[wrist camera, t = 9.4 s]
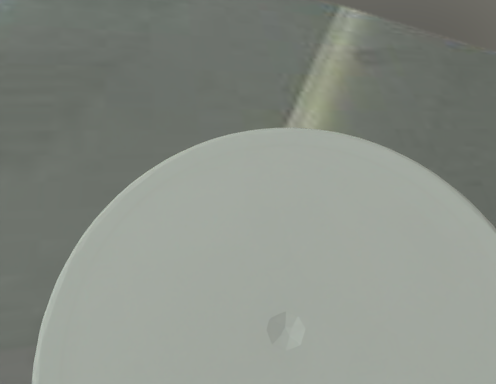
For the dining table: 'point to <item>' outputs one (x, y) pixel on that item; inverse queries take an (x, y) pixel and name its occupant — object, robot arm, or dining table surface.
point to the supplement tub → (278, 272)
